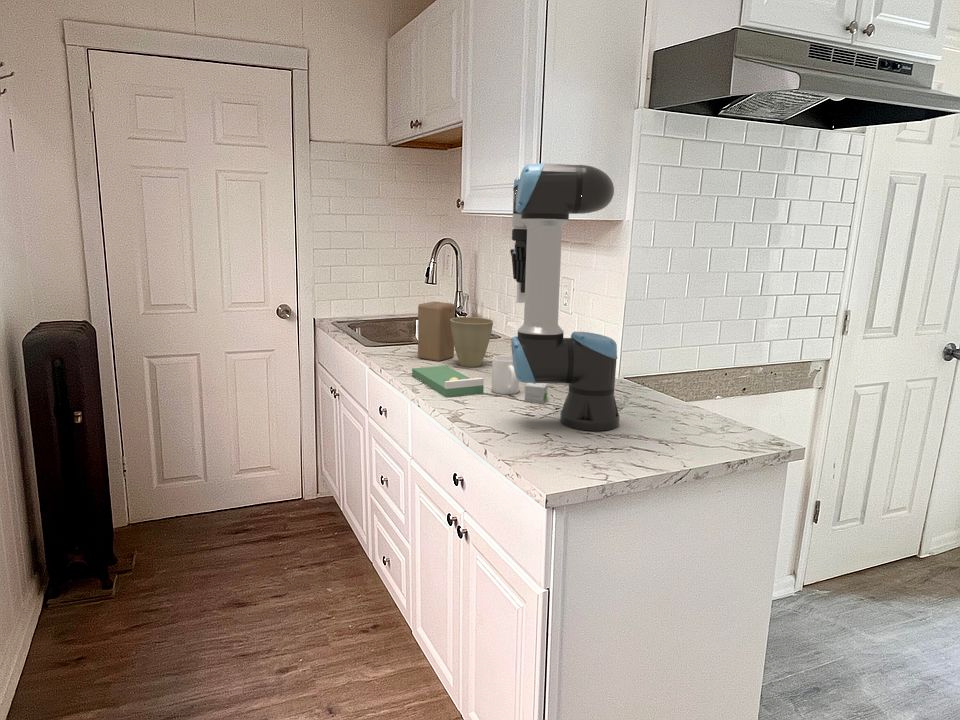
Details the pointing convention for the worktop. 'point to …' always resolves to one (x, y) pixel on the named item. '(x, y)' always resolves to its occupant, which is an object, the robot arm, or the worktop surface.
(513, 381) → the mug
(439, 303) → the wooden block
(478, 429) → the worktop surface
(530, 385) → the small box
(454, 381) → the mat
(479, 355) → the plant pot
